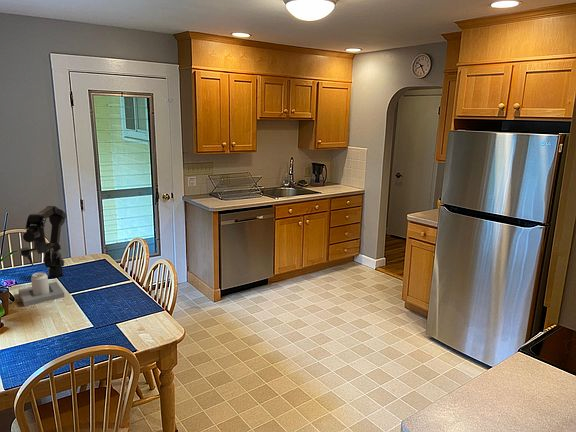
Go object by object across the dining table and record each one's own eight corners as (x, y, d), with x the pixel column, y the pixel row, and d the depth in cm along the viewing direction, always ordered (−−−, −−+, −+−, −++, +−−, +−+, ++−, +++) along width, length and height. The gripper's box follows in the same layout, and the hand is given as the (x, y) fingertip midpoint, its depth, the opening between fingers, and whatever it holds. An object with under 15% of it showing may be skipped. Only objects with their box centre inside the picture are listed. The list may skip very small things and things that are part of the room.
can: (36, 299, 213) (34, 277, 210) (30, 295, 218) (28, 274, 215) (52, 294, 219) (49, 273, 216) (46, 290, 223) (43, 270, 220)
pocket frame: (56, 285, 231) (56, 281, 230) (64, 297, 217) (64, 292, 217) (19, 294, 219) (18, 289, 219) (24, 306, 206) (24, 301, 205)
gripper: (21, 243, 212) (25, 272, 215) (61, 237, 223) (64, 264, 227) (17, 238, 220) (21, 265, 224) (56, 232, 232) (59, 258, 235)
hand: (42, 263), depth 227 cm, fingers open, 9 cm apart
